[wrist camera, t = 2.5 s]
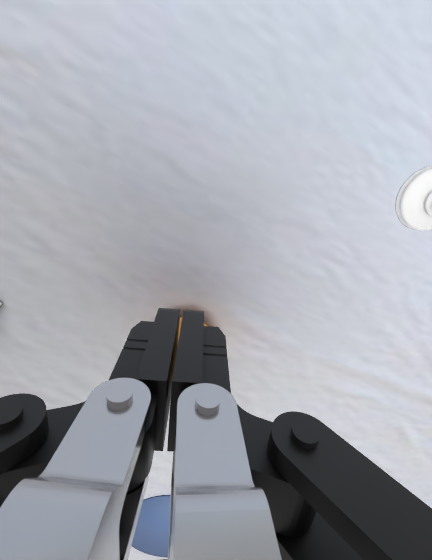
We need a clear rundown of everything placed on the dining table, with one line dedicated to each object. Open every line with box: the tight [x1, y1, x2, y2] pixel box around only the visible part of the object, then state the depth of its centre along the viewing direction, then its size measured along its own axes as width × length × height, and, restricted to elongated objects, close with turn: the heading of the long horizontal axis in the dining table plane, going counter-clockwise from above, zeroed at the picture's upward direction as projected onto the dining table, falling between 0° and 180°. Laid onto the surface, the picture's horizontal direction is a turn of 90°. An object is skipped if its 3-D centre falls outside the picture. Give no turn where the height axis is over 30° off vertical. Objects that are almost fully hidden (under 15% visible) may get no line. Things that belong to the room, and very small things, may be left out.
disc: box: [131, 495, 171, 557], centre depth 39 cm, size 13×13×1 cm
